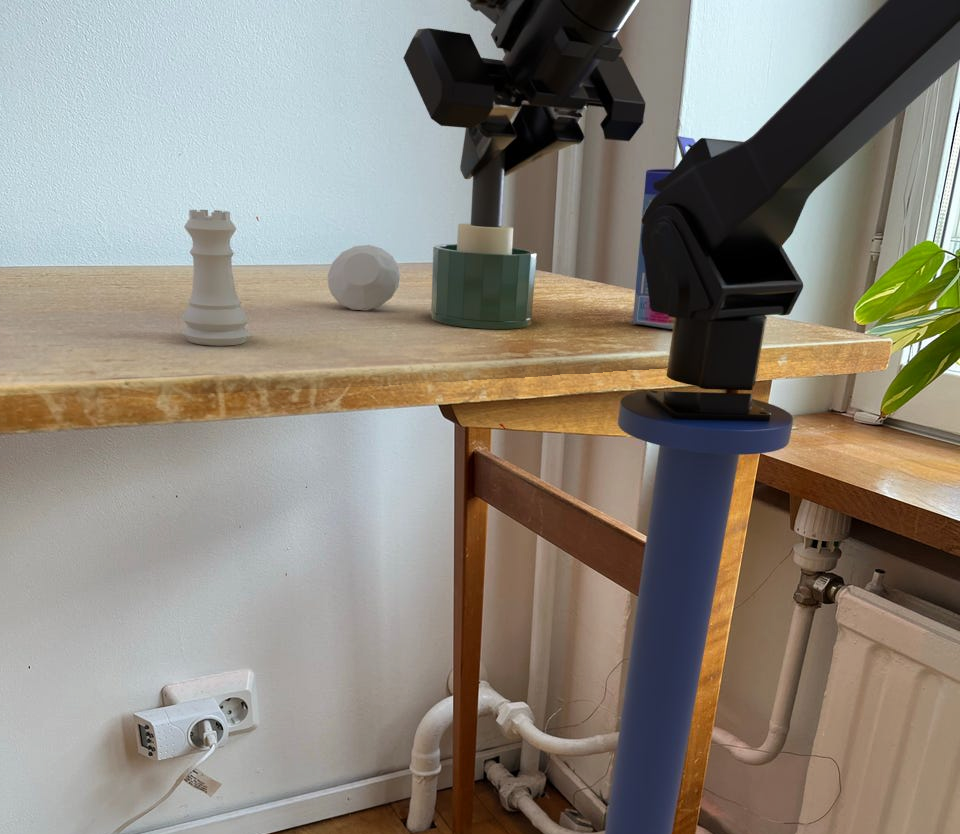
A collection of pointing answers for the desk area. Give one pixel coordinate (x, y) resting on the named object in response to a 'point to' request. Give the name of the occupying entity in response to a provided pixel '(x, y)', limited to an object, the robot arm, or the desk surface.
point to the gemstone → (363, 277)
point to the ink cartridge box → (642, 302)
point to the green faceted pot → (482, 288)
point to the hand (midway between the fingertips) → (478, 175)
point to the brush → (487, 213)
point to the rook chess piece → (213, 283)
